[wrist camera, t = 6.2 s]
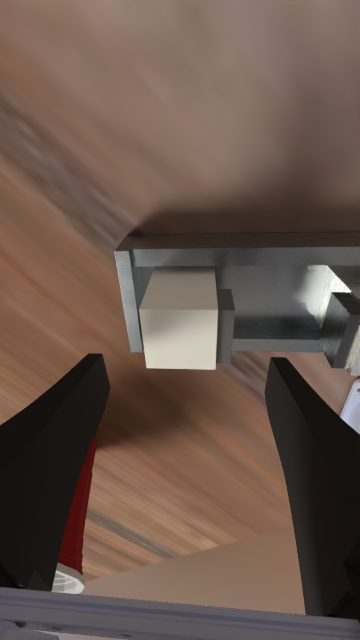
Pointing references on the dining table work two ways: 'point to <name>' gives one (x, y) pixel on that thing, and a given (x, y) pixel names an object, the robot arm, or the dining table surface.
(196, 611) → the robot arm
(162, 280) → the cream rectangular block
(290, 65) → the dining table surface
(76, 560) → the plastic cup
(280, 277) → the rail
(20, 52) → the dining table surface
